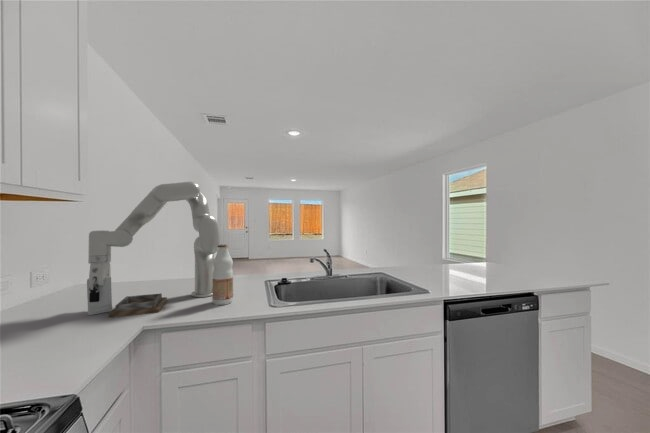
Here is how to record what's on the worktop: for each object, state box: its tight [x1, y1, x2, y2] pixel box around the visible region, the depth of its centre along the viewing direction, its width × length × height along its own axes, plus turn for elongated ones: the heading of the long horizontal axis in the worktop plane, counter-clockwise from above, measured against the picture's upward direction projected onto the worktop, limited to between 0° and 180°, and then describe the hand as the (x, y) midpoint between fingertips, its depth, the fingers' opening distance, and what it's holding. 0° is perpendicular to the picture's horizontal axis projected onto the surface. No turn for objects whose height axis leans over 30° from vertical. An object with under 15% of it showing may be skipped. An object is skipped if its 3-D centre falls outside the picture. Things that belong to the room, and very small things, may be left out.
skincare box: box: [86, 275, 113, 316], centre depth 119 cm, size 8×6×15 cm
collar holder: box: [108, 292, 168, 318], centre depth 124 cm, size 18×18×4 cm
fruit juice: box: [211, 243, 234, 306], centre depth 133 cm, size 9×9×28 cm
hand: (99, 298), depth 119 cm, fingers open, 9 cm apart
